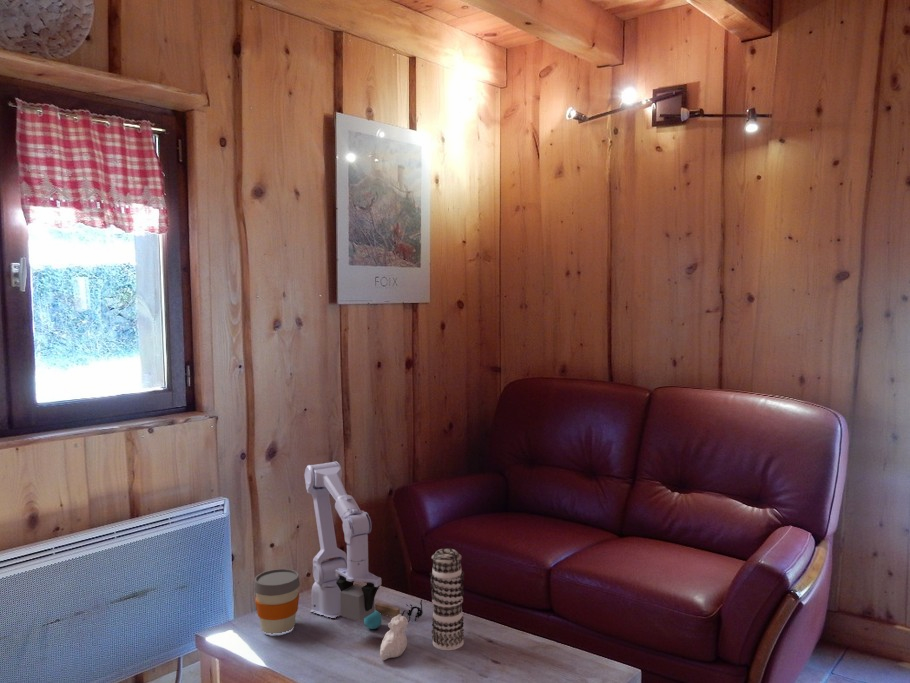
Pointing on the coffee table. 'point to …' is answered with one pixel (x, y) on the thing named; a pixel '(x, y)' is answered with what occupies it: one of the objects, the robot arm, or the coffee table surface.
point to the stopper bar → (387, 610)
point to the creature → (412, 610)
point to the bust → (394, 638)
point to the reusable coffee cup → (277, 599)
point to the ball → (373, 620)
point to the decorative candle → (447, 599)
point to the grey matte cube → (354, 603)
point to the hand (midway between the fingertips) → (358, 606)
